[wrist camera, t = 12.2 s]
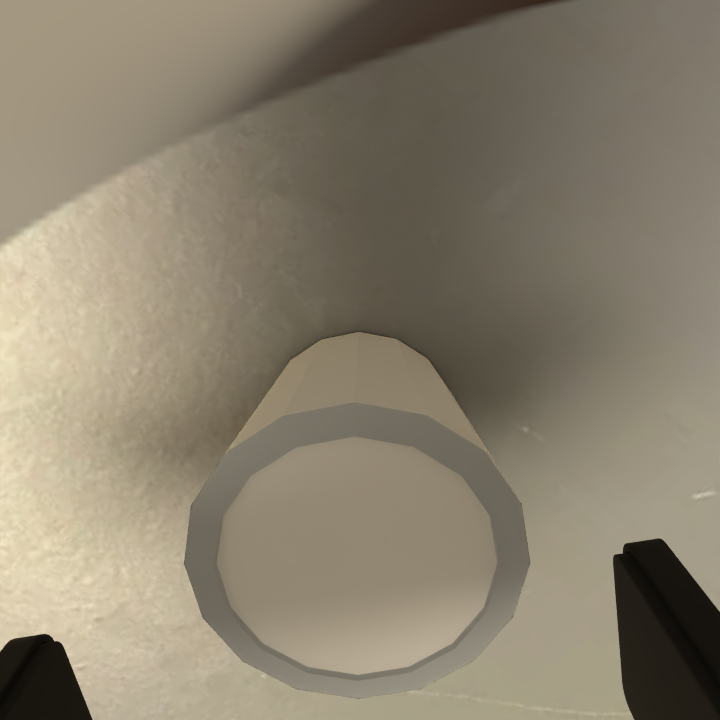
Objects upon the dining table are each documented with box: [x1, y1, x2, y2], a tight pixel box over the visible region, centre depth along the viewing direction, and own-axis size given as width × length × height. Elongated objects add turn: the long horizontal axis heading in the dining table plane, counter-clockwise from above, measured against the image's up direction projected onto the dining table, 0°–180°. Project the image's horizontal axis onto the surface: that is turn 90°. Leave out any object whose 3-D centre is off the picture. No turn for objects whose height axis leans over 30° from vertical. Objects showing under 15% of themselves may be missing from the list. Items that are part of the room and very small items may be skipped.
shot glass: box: [184, 332, 530, 699], centre depth 16 cm, size 7×7×7 cm
